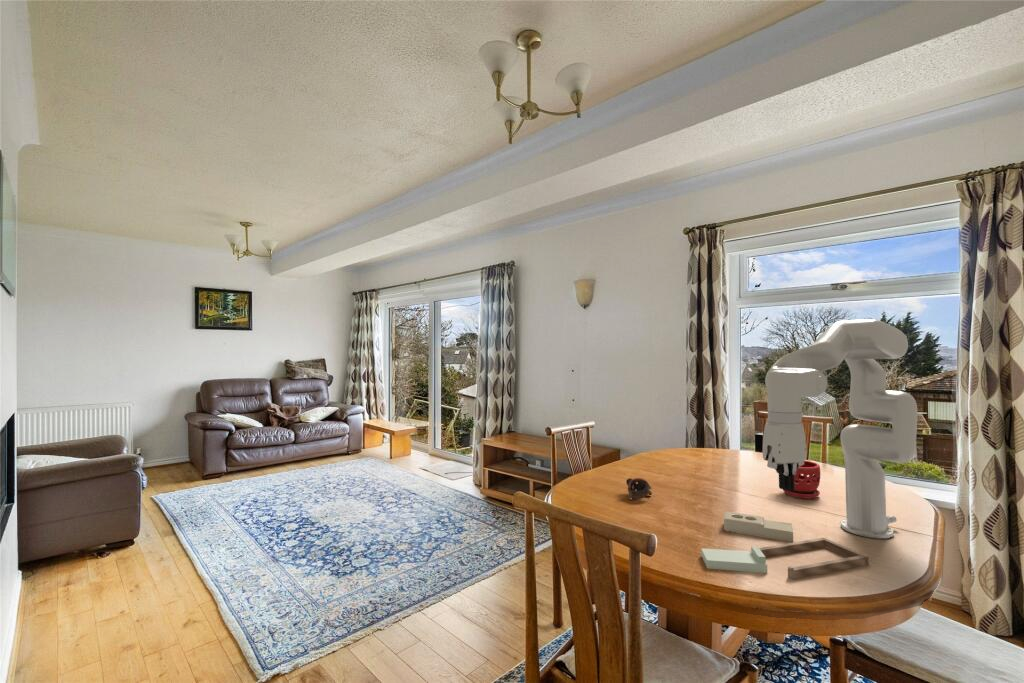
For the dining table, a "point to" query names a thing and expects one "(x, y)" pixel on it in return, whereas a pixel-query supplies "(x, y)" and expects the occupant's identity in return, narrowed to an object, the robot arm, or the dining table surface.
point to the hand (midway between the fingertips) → (786, 489)
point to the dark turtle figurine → (638, 488)
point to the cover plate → (735, 560)
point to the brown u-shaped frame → (818, 568)
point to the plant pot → (806, 481)
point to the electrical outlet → (757, 526)
